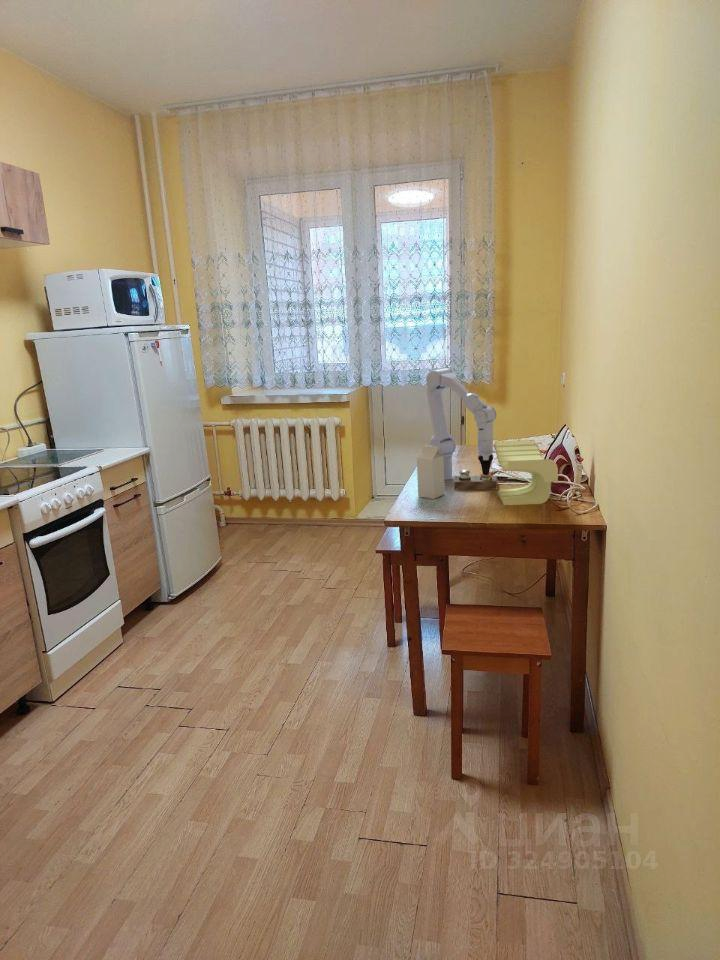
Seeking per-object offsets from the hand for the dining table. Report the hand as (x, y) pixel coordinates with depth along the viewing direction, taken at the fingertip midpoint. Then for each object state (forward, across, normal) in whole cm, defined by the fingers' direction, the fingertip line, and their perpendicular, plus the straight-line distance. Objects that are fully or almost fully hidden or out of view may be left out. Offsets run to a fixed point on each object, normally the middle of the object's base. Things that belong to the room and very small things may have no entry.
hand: (485, 474), depth 226 cm
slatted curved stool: (+5, -16, -13) cm, 21 cm away
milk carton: (+5, -12, +20) cm, 24 cm away
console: (+5, 0, +4) cm, 6 cm away
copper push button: (+4, 0, 0) cm, 4 cm away
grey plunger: (+3, 0, +8) cm, 8 cm away
